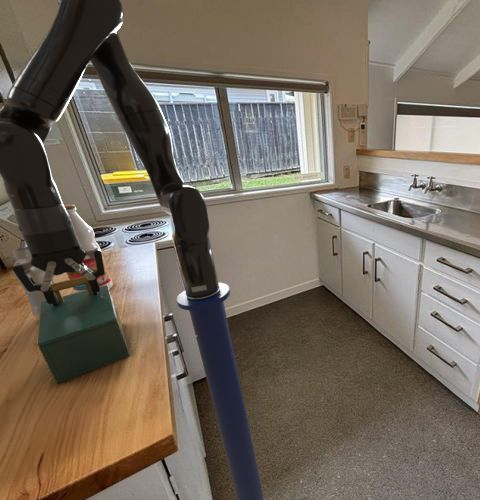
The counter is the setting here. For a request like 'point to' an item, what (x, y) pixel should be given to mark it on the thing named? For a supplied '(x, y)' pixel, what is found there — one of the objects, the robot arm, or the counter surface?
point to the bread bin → (86, 351)
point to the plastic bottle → (37, 275)
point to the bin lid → (74, 312)
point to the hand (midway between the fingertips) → (76, 298)
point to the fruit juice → (86, 243)
